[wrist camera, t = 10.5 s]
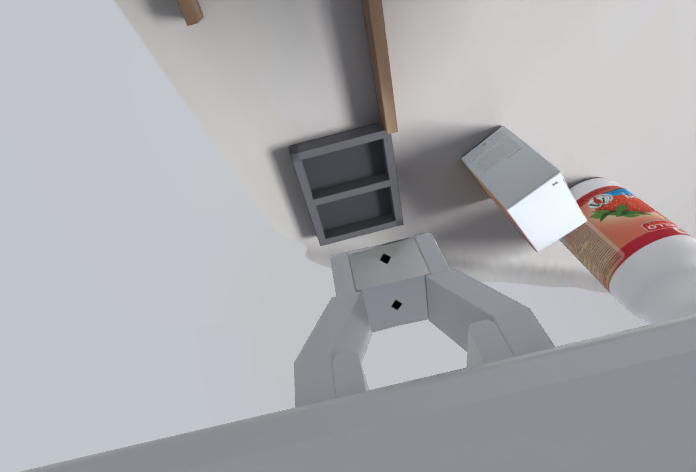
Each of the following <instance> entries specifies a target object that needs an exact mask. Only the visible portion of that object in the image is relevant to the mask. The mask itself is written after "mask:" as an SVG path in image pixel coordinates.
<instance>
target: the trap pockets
mask: <svg viewBox="0 0 696 472" xmlns="http://www.w3.org/2000/svg"><path fill="white" fill-rule="evenodd" d="M289 147H290V156H291V159H292V162H293V165H294V168H295V171H296V174H297V177H298V180H299V183H300V186H301V189H302V192H303V195H304V198H305V201H306V204H307V207H308V210H309V213H310V216H311V219H312V222H313V225H314V228H315V231H316V234H317V237H318V240H319V243H320V246H323V245H327V244H330V243H334V242H338V241H342V240H346V239H350V238H353V237H357V236H361V235H365V234H369V233H373V232H376V231H380V230H384V229H388V228H392V227H395V226H399V225H403V218H402V210H401V203H400V196H399V189H398V181H397V174H396V167H395V160H394V152H393V145H392V138H391V134H387V132H386V131H385V129H384V127H383V126H382V124H381V122H380V123H376V124H373V125H369V126H365V127H361V128H357V129H353V130H350V131H346V132H342V133H338V134H334V135H331V136H327V137H323V138H319V139H315V140H312V141H308V142H304V143H300V144H296V145H292V146H289Z"/></svg>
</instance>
